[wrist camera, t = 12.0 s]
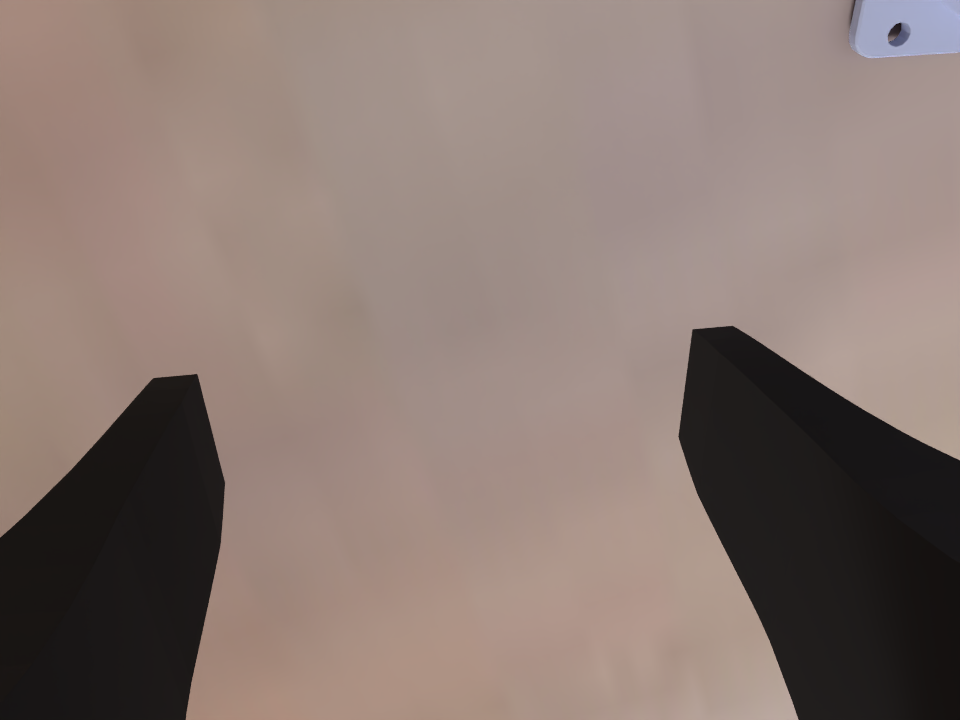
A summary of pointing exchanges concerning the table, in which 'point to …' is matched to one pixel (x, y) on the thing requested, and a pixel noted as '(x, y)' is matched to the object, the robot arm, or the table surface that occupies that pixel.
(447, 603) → the table surface
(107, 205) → the table surface
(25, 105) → the table surface
